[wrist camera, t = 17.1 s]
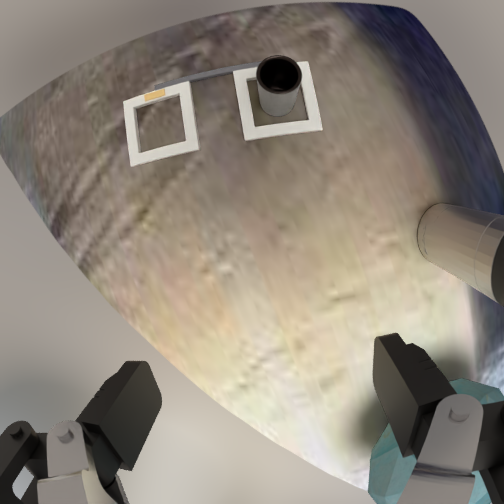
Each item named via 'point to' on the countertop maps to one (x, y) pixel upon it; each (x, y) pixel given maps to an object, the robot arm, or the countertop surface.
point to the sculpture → (399, 469)
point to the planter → (278, 84)
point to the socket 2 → (282, 128)
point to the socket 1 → (170, 150)
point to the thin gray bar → (207, 74)
